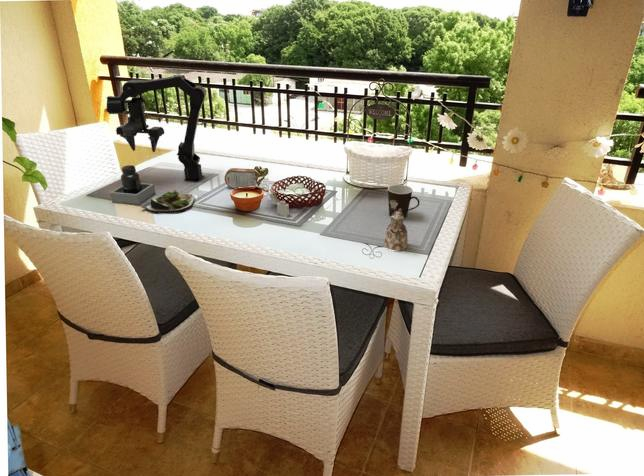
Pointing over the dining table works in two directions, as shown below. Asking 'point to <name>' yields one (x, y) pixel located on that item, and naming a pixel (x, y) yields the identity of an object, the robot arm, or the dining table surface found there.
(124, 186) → the supplement bottle
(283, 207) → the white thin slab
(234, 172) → the tin
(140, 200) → the square tray
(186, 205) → the salad plate
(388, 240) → the figurine
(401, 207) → the coffee mug
